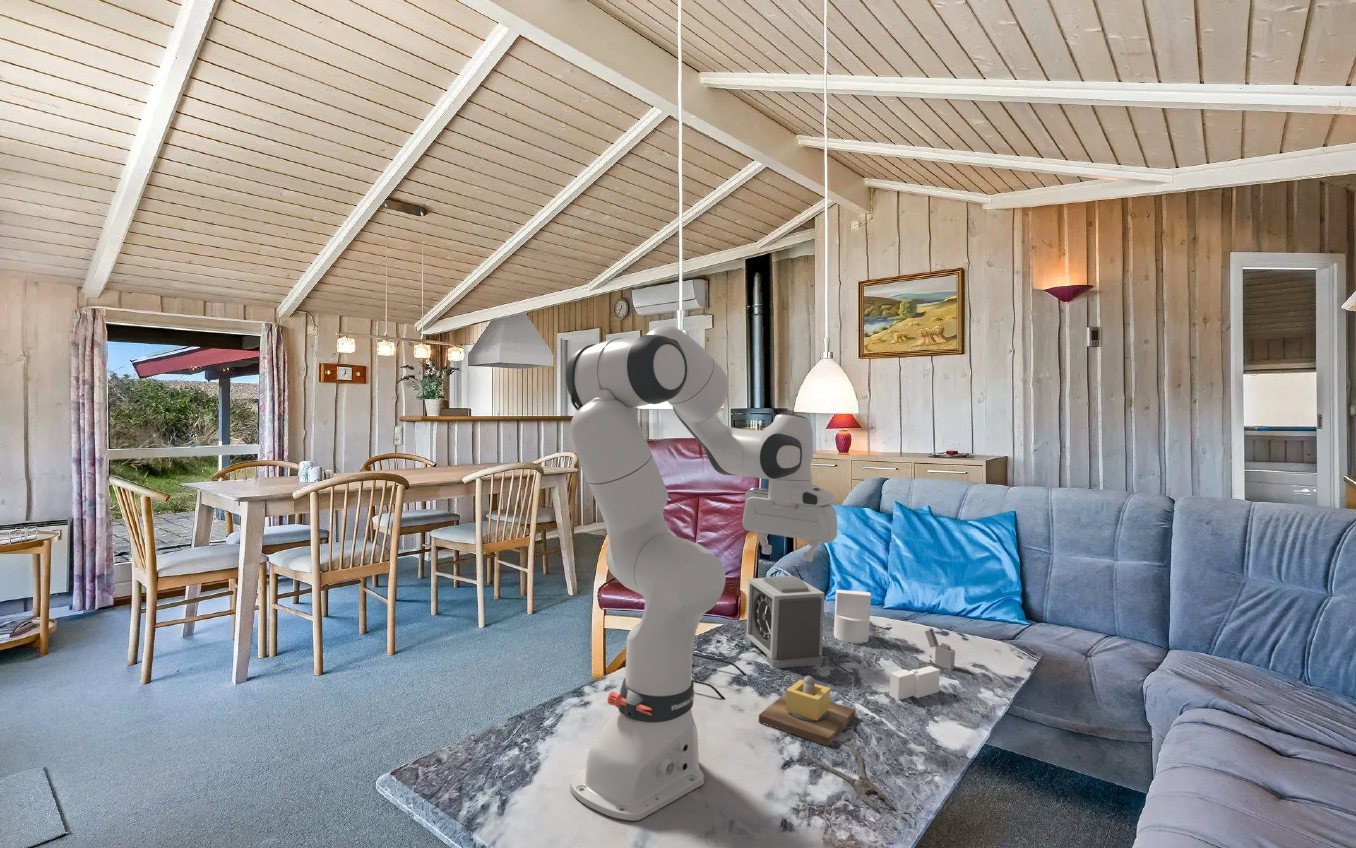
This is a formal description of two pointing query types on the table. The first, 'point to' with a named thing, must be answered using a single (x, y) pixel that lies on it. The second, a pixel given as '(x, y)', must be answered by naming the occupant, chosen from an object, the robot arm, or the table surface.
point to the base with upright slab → (852, 616)
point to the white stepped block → (914, 682)
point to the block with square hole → (808, 701)
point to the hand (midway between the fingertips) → (786, 557)
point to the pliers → (858, 781)
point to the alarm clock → (785, 620)
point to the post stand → (806, 727)
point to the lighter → (941, 651)
